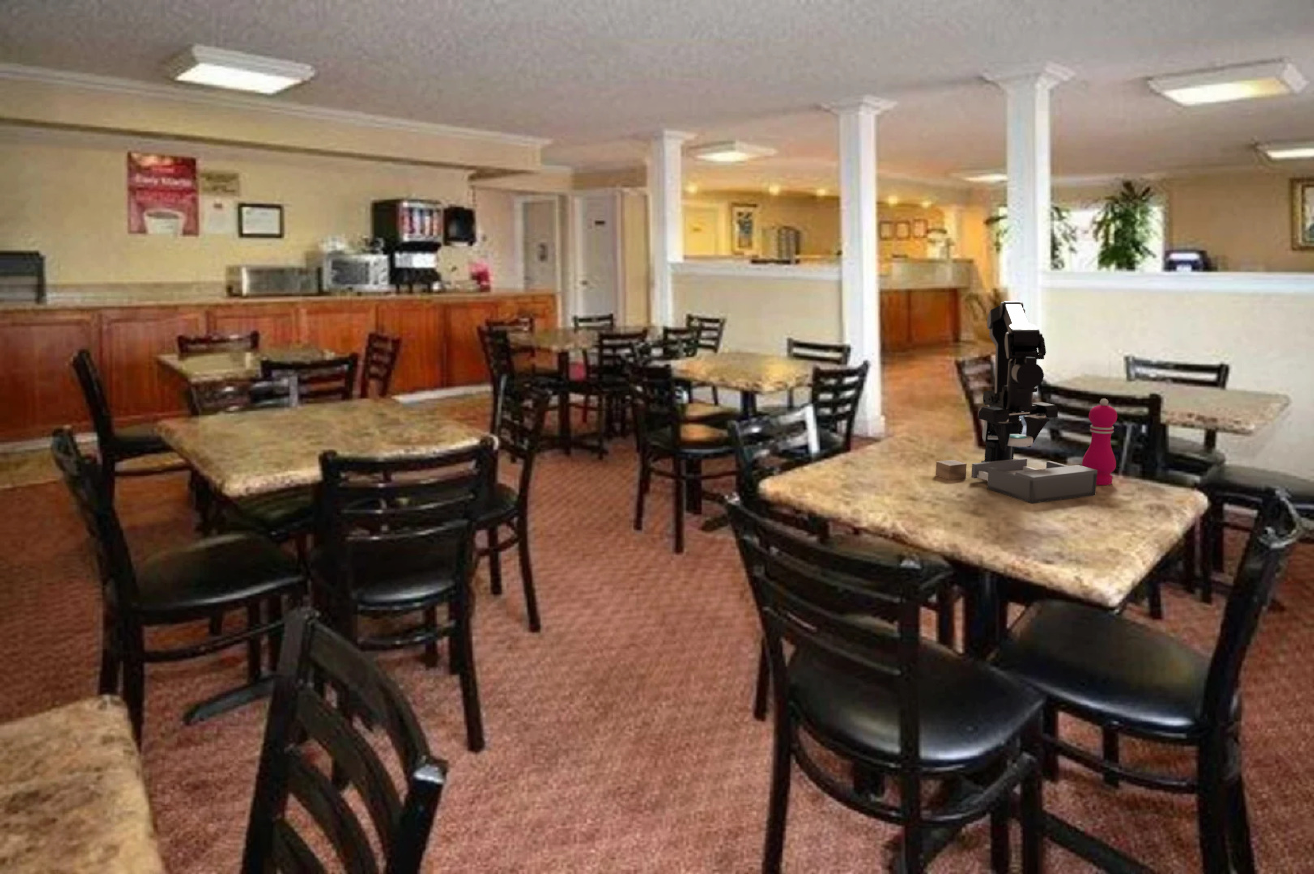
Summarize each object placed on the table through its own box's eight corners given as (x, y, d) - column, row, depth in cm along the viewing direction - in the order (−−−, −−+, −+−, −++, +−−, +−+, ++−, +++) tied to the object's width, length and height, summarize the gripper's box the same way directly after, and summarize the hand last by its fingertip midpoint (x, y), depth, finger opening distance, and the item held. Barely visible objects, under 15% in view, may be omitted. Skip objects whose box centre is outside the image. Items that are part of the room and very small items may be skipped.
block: (952, 473, 227) (953, 459, 227) (965, 477, 223) (966, 463, 222) (935, 475, 225) (936, 461, 225) (948, 479, 221) (949, 465, 220)
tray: (1023, 471, 224) (1024, 458, 224) (1065, 483, 212) (1066, 469, 211) (971, 477, 219) (972, 463, 218) (1011, 490, 206) (1012, 475, 206)
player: (1048, 481, 218) (1050, 457, 217) (1095, 495, 206) (1097, 469, 205) (987, 488, 212) (988, 464, 211) (1031, 503, 199) (1033, 477, 198)
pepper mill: (1087, 477, 222) (1094, 395, 219) (1118, 482, 217) (1126, 398, 214) (1075, 482, 217) (1082, 398, 214) (1107, 487, 212) (1115, 402, 209)
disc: (1017, 439, 219) (1018, 432, 219) (1039, 445, 213) (1039, 437, 213) (994, 442, 217) (994, 435, 217) (1015, 447, 210) (1015, 440, 210)
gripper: (1027, 376, 223) (1022, 439, 226) (964, 380, 216) (960, 445, 219) (1062, 381, 213) (1057, 447, 216) (997, 386, 206) (993, 454, 209)
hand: (1016, 448), depth 215 cm, fingers closed on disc, 7 cm apart
